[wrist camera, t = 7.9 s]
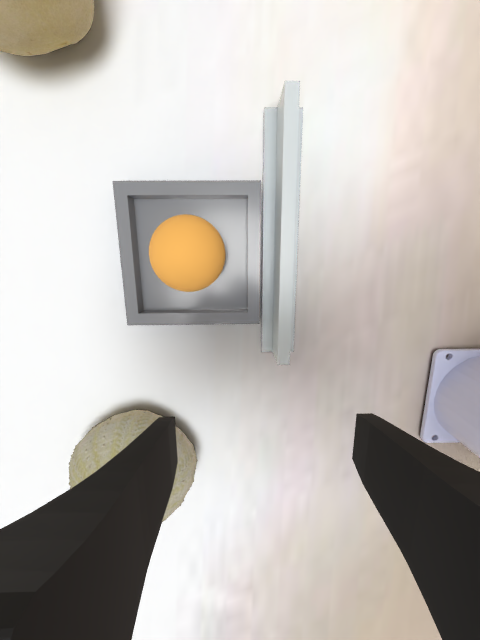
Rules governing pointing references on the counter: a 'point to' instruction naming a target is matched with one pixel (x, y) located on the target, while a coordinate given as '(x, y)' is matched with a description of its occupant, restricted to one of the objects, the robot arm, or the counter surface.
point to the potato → (43, 24)
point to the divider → (281, 221)
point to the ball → (187, 253)
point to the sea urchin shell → (118, 436)
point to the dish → (228, 219)
